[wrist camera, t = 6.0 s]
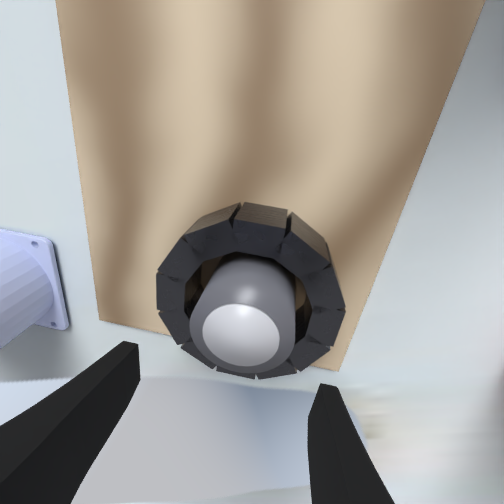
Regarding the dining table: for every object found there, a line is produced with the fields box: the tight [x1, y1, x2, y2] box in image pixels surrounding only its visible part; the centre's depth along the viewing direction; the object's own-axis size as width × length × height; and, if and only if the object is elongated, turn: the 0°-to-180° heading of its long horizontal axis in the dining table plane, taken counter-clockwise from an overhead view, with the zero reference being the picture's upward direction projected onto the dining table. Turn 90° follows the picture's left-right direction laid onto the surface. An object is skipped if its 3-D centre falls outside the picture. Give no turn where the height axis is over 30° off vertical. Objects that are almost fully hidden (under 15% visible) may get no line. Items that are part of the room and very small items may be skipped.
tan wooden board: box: [56, 0, 485, 372], centre depth 15 cm, size 18×24×1 cm
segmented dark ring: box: [156, 202, 346, 379], centre depth 16 cm, size 10×10×3 cm
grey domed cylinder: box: [189, 251, 296, 373], centre depth 15 cm, size 5×5×5 cm
